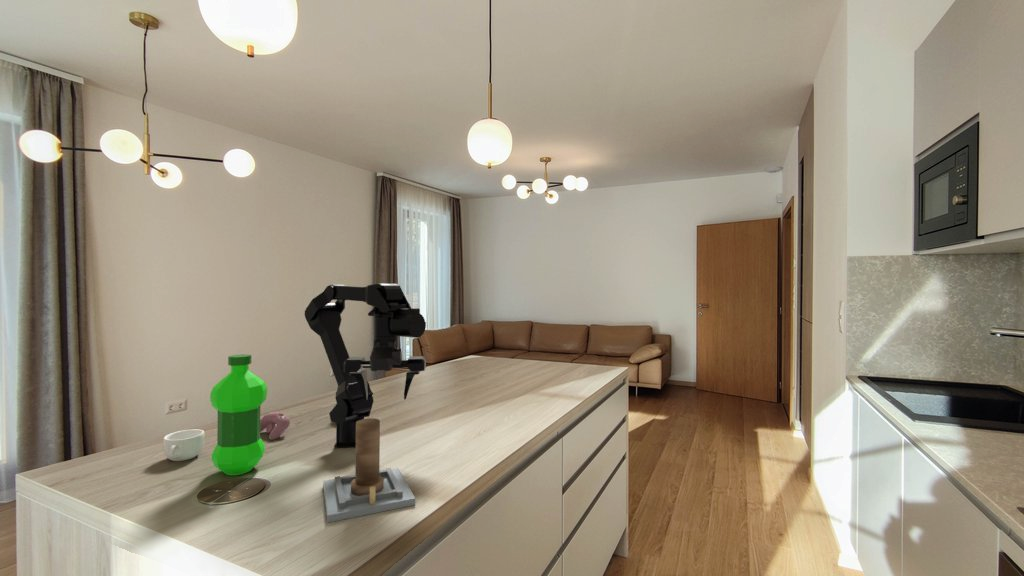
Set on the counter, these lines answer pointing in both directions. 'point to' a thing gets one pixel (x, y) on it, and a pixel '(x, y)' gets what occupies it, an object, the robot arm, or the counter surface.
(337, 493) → the base plate
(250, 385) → the plastic bottle
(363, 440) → the flanged spindle
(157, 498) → the counter surface
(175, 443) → the teacup
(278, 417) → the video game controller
